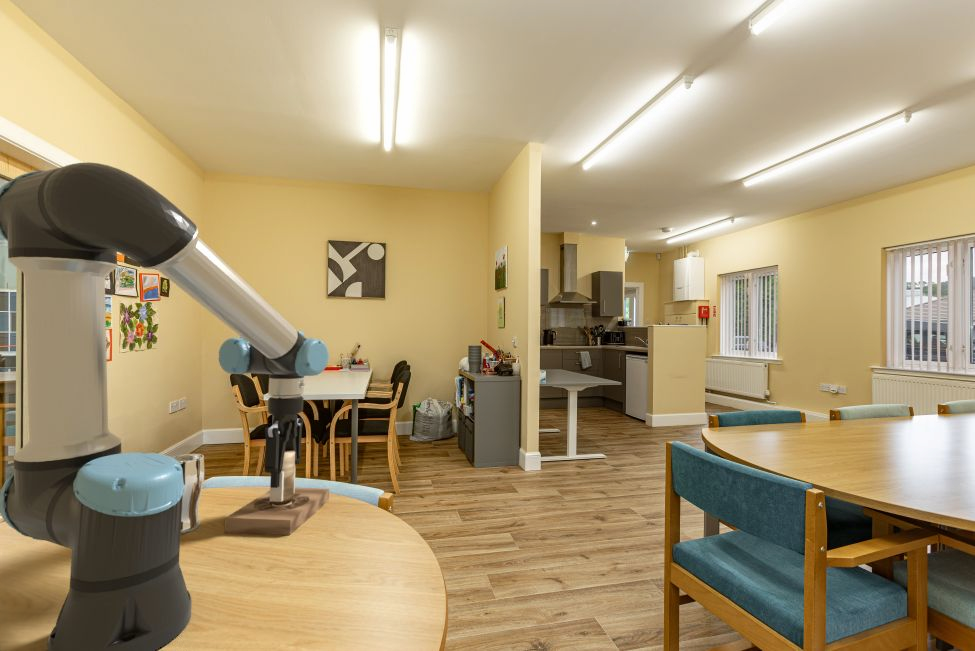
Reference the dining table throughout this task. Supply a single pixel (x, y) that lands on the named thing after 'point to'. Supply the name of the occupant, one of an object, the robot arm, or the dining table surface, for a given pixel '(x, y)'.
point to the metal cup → (191, 489)
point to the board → (277, 513)
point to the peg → (287, 478)
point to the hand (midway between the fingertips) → (282, 496)
